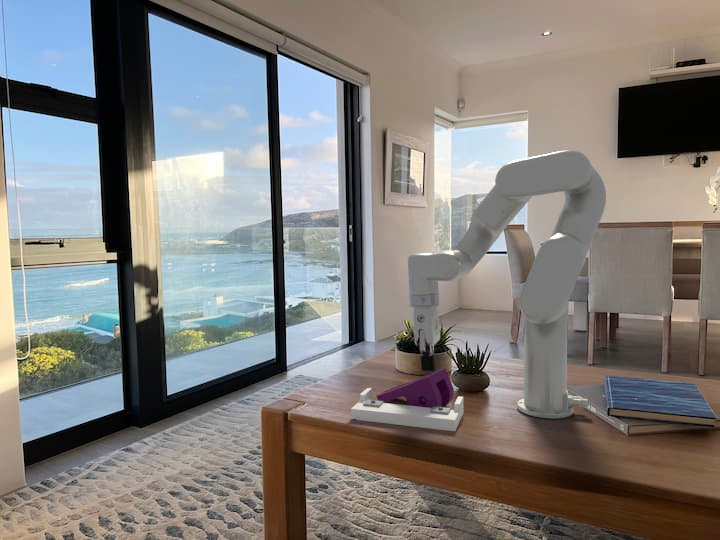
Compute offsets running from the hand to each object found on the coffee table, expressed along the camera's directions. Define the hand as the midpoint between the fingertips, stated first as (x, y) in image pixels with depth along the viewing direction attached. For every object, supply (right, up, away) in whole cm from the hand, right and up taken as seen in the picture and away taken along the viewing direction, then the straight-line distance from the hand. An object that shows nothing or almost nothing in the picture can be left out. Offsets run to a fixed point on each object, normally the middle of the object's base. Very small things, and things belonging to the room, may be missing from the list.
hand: (428, 369), depth 134 cm
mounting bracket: (-5, -8, -8) cm, 12 cm away
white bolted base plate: (-7, -8, -15) cm, 18 cm away
